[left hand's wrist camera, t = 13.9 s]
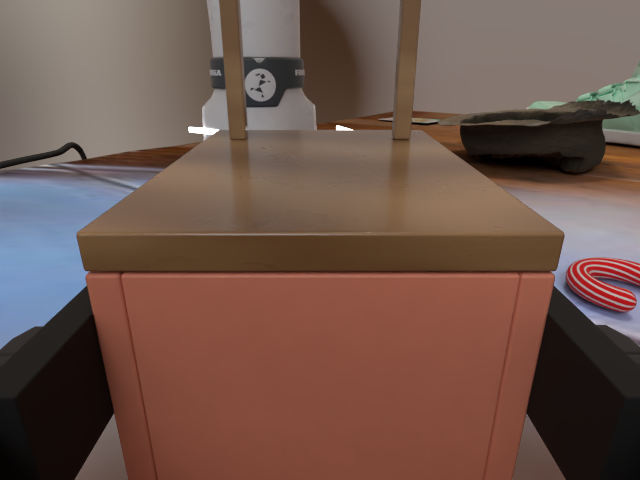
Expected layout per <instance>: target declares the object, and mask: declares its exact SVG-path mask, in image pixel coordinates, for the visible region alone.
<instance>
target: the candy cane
mask: <svg viewBox="0 0 640 480" xmlns="http://www.w3.org/2000/svg"><path fill="white" fill-rule="evenodd" d="M596 278H606V279H614V280H620V281H624V282H628V283H631V284H634V285H637V286H640V264H639V263H635V262H631V261H627V260H621V259H614V258H599V257H597V258H586V259H582V260H578V261H576V262H574V263H573V264H572V265H570V266H569V268H568V269H567V271H566V280H567V283H568V285H569V286H570V288H571V289H572V290H573V291H574V292H575V293H576V294H578V295H579V296H581V297H582V298H584V299H586V300H588V301H590V302H592V303H594V304H596V305H599V306H601V307H604V308H607V309H611V310H614V311H618V312H629V311H631V310H632V309H634V307H635V306H636V302H637V301H636V297H635V295H634V294H633V293H632V292H631V291H630V290H628V289H625V288H621V287H617V286H613V285H610V284H607V283H604V282H602V281H600V280H598V279H596Z"/></svg>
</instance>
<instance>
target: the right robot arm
mask: <svg viewBox="0 0 640 480" xmlns="http://www.w3.org/2000/svg"><path fill="white" fill-rule="evenodd" d="M207 6H208V14H209V21H210V30H211V39H212V49H213V58H212V59H211V60H210V75H211V84H212V87H213V88H215V89H214V93H213V95H212V97H211V98H210V100H209V101H208V102H206V104H205V105H204V106H203V107H202V116H203V128H196V127H189V132H193V133H204V140H206V139H207V138H208V137H210V136H211V135H213V134H214V133H215V132H217V131H218V130H229V125H228V112H227V99H226V86H225V73H224V60H223V47H222V34H221V21H220V8H219V0H207ZM240 10H241V27H242V43H243V59H244V76H245V92H246V109H247V125H248V130H316V113H315V105H314V104H312V102H311V101H309V100H308V99H307V98H306V96H305V95H304V93H303V91H302V88H303V87H304V75H305V71H304V66H303V60H302V59H300V22H299V0H240ZM336 130H352V129H348V128H345V127H341V126H336Z"/></svg>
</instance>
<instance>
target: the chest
mask: <svg viewBox="0 0 640 480" xmlns="http://www.w3.org/2000/svg"><path fill="white" fill-rule="evenodd" d="M554 281H555V276H554V274H553V273H552V272H551V271H90V272H89V273H88V274H87V275H86V283H87V287H88V292H89V297H90V301H91V306H92V311H93V316H94V320H95V325H96V330H97V334H98V339H99V344H100V348H101V353H102V358H103V362H104V367H105V372H106V376H107V381H108V386H109V391H110V395H111V400H112V405H113V409H114V414H115V419H116V423H117V428H118V433H119V437H120V442H121V447H122V452H123V456H124V461H125V466H126V470H127V475H128V480H512V477H513V472H514V468H515V463H516V458H517V454H518V449H519V444H520V440H521V435H522V430H523V426H524V421H525V416H526V411H527V407H528V402H529V397H530V393H531V388H532V383H533V379H534V374H535V369H536V365H537V360H538V355H539V351H540V346H541V341H542V337H543V332H544V327H545V323H546V318H547V313H548V309H549V304H550V299H551V295H552V290H553V285H554Z"/></svg>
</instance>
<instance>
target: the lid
mask: <svg viewBox="0 0 640 480" xmlns="http://www.w3.org/2000/svg"><path fill="white" fill-rule="evenodd" d="M219 8H220V21H221V34H222V47H223V60H224V73H225V86H226V99H227V112H228V125H229V130H218V131H217V132H215V133H214V134H213V135H211V136H210V137H208V138H207V139H206V140H204V141H203V142H202V143H200V144H199V145H197V146H196V147H195V148H193V149H192V150H190V151H189V152H188V153H186V154H185V155H184V156H182V157H181V158H179V159H178V160H177V161H175V162H174V163H173V164H171V165H170V166H168V167H167V168H166V169H164V170H163V171H161V172H160V173H159V174H157V175H156V176H155V177H153V178H152V179H150V180H149V181H148V182H146V183H145V184H143V185H142V186H141V187H139V188H138V189H137V190H135V191H134V192H132V193H131V194H130V195H128V196H127V197H126V198H124V199H123V200H121V201H120V202H119V203H117V204H116V205H114V206H113V207H112V208H110V209H109V210H108V211H106V212H105V213H103V214H102V215H101V216H99V217H98V218H97V219H95V220H94V221H92V222H91V223H90V224H88V225H87V226H85V227H84V228H83V229H81V230H80V231H79V232H77V241H78V245H79V249H80V254H81V258H82V263H83V267H84V270H85V271H556V269H557V267H558V262H559V258H560V253H561V249H562V245H563V240H564V232H562V231H561V230H560V229H558V228H557V227H555V226H554V225H553V224H551V223H550V222H549V221H547V220H546V219H544V218H543V217H542V216H540V215H539V214H537V213H536V212H535V211H533V210H532V209H530V208H529V207H528V206H526V205H525V204H523V203H522V202H521V201H519V200H518V199H517V198H515V197H514V196H512V195H511V194H510V193H508V192H507V191H505V190H504V189H503V188H501V187H500V186H498V185H497V184H496V183H494V182H493V181H491V180H490V179H489V178H487V177H486V176H484V175H483V174H482V173H480V172H479V171H478V170H476V169H475V168H473V167H472V166H471V165H469V164H468V163H466V162H465V161H464V160H462V159H461V158H459V157H458V156H457V155H455V154H454V153H452V152H451V151H450V150H448V149H447V148H445V147H444V146H443V145H441V144H440V143H439V142H437V141H436V140H434V139H433V138H432V137H430V136H429V135H427V134H426V133H425V132H423V131H422V130H411V125H412V112H413V98H414V86H415V73H416V60H417V47H418V34H419V21H420V8H421V0H400V13H399V29H398V45H397V61H396V78H395V94H394V111H393V127H392V130H248V125H247V109H246V92H245V76H244V59H243V43H242V27H241V10H240V0H219Z"/></svg>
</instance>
